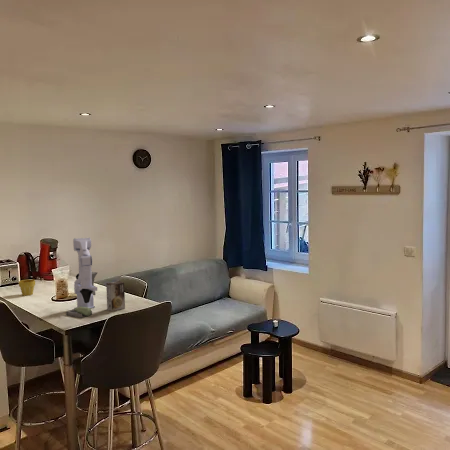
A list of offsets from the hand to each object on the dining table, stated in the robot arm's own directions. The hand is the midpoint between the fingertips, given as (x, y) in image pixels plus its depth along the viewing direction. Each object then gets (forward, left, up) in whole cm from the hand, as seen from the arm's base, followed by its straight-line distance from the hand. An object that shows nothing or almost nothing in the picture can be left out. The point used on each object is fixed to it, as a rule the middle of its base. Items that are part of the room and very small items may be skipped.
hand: (86, 302), depth 237 cm
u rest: (-7, -14, -10) cm, 19 cm away
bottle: (-7, -7, -8) cm, 13 cm away
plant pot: (-25, -86, -11) cm, 90 cm away
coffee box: (-27, -5, -11) cm, 29 cm away
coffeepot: (-45, -49, -11) cm, 67 cm away
